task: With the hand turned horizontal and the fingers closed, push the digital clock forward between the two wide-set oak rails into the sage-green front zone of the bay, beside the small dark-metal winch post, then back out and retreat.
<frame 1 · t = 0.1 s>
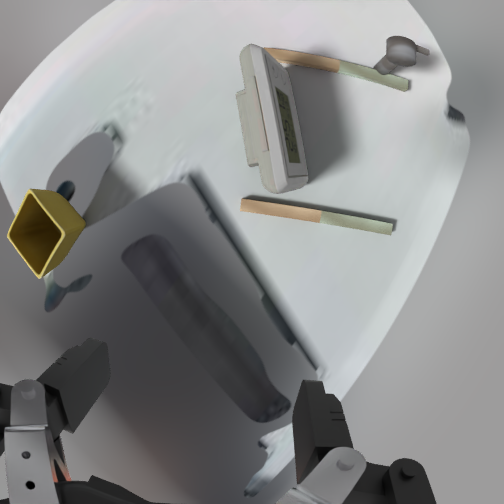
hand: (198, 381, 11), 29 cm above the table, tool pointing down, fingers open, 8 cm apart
digital clock: (276, 129, 36), on the table
flower pot: (69, 224, 40), on the table
bay: (330, 138, 36), on the table
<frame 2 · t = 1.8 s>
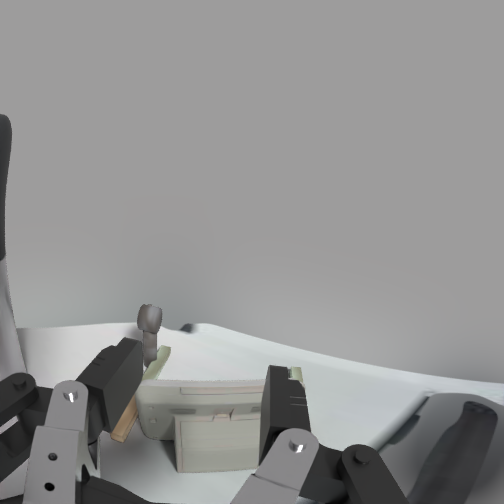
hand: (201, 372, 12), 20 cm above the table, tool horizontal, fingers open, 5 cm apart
digital clock: (213, 445, 29), on the table
bay: (220, 406, 35), on the table
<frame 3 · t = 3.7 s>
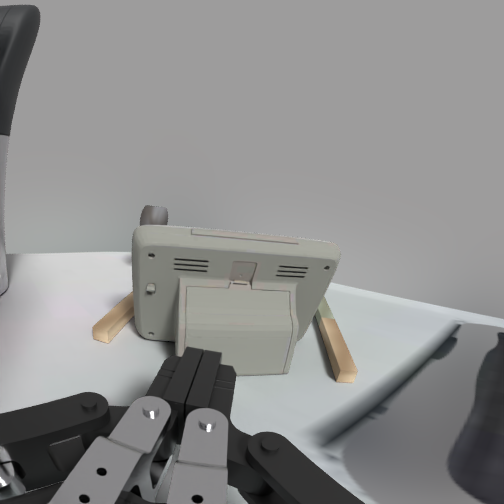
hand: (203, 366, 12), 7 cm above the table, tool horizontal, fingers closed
digital clock: (225, 350, 26), on the table
bay: (232, 315, 32), on the table
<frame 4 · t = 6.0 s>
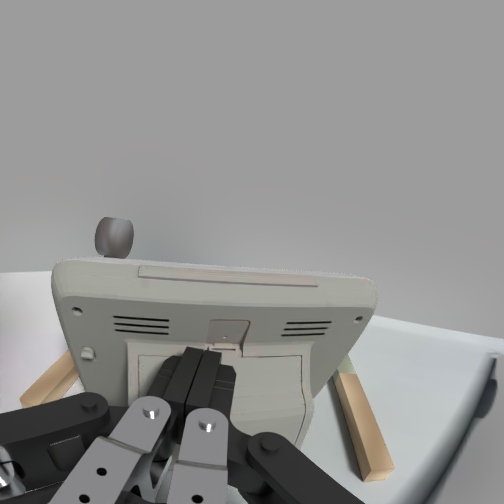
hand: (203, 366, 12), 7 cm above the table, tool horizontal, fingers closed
digital clock: (207, 422, 17), on the table, touching gripper
bay: (216, 371, 22), on the table
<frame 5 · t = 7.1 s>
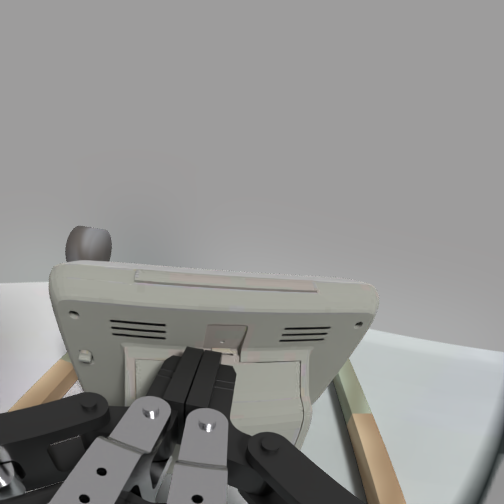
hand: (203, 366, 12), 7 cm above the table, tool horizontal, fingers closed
digital clock: (206, 426, 17), on the table, touching gripper
bay: (206, 412, 18), on the table
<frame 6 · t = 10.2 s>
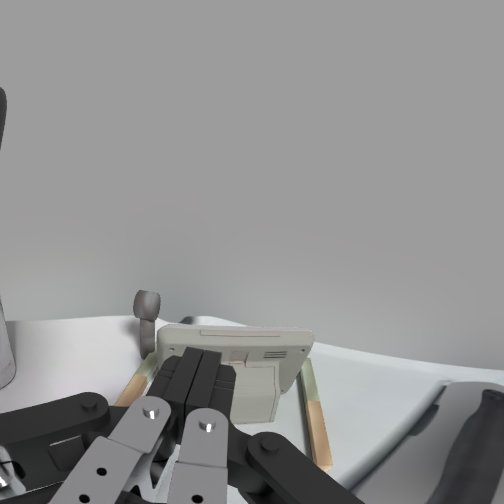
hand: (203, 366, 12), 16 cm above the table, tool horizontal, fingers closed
digital clock: (228, 402, 32), on the table
bay: (224, 399, 32), on the table
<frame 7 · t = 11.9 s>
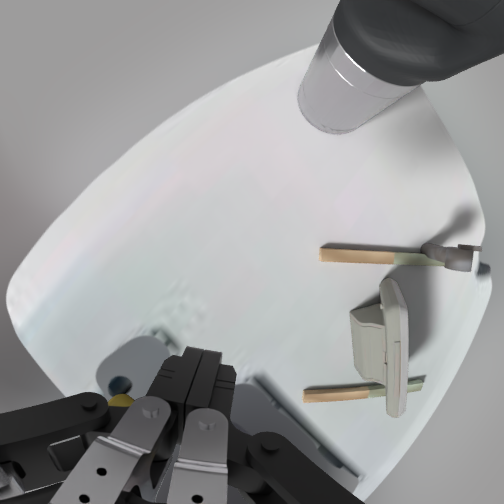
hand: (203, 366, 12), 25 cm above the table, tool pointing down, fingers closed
digital clock: (378, 331, 39), on the table
bay: (379, 329, 39), on the table
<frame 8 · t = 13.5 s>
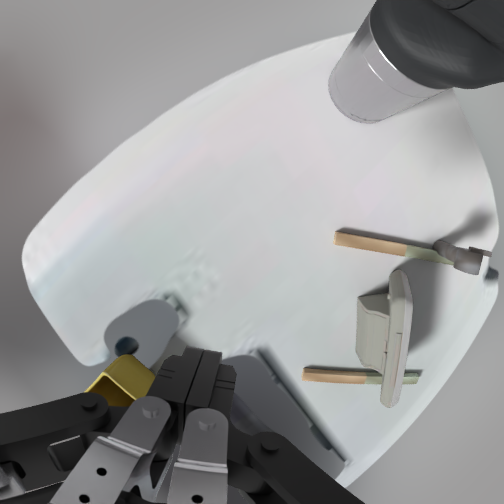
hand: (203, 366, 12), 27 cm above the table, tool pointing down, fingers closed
digital clock: (382, 320, 40), on the table
flower pot: (135, 371, 44), on the table
bay: (383, 318, 40), on the table
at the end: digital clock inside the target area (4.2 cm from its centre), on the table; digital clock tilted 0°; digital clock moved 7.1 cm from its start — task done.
